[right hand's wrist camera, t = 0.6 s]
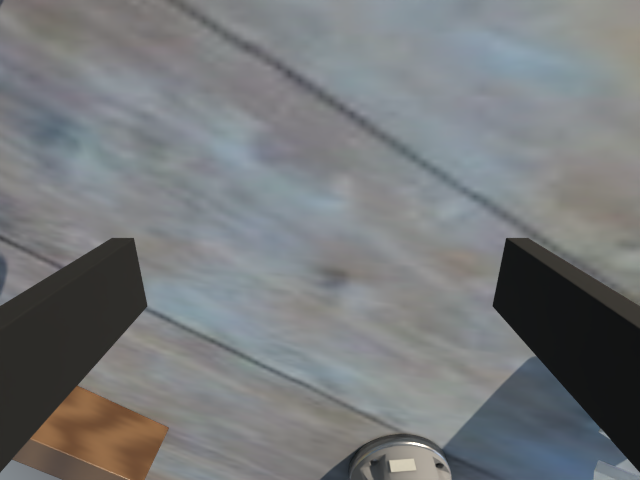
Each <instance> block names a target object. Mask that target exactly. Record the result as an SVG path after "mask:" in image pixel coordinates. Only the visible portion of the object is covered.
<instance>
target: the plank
mask: <svg viewBox="0 0 640 480" xmlns="http://www.w3.org/2000/svg"><path fill="white" fill-rule="evenodd" d="M168 429H169V428H168V427H166V426H164V425H162V424H159V423H157V422H155V421H153V420H151V419H148V418H146V417H144V416H142V415H140V414H138V413H135V412H133V411H131V410H129V409H127V408H125V407H122V406H120V405H118V404H116V403H114V402H111V401H109V400H107V399H105V398H103V397H101V396H98V395H96V394H94V393H92V392H90V391H88V390H85V389H83V388H81V387H79V386H76V387H75V388H74V390H73V391H72V392H71V393H70V394H69V395H68V396H67V398H66V399H65V400H64V401H63V402H62V403H61V404H60V405H59V407H58V408H57V409H56V410H55V411H54V412H53V413H52V414H51V416H50V417H49V418H48V419H47V420H46V421H45V422H44V423H43V425H42V426H41V427H40V428H39V429H38V430H37V431H36V433H35V434H34V435H33V436H32V437H31V438H30V439H29V440H28V442H27V443H26V444H25V445H24V446H23V447H22V448H21V449H20V451H19V452H18V453H17V454H16V455H15V456H14V457H13V458H12V460H15V461H17V462H20V463H22V464H25V465H27V466H30V467H32V468H35V469H37V470H40V471H42V472H45V473H47V474H50V475H53V476H55V477H57V478H60V479H62V480H145V477H146V475H147V473H148V471H149V469H150V467H151V465H152V463H153V461H154V458H155V456H156V454H157V452H158V450H159V448H160V446H161V444H162V442H163V439H164V437H165V435H166V433H167V431H168Z"/></svg>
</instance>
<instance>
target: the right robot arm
mask: <svg viewBox="0 0 640 480" xmlns="http://www.w3.org/2000/svg"><path fill="white" fill-rule="evenodd" d="M146 307H147V302H146V297H145V292H144V287H143V282H142V277H141V272H140V267H139V262H138V257H137V252H136V247H135V242H134V238H111V239H110V240H108V241H106V242H105V243H103V244H101V245H100V246H98V247H97V248H95V249H93V250H92V251H90V252H88V253H87V254H85V255H83V256H82V257H80V258H79V259H77V260H75V261H74V262H72V263H70V264H69V265H67V266H65V267H64V268H62V269H60V270H59V271H57V272H56V273H54V274H52V275H51V276H49V277H47V278H46V279H44V280H42V281H41V282H39V283H38V284H36V285H34V286H33V287H31V288H29V289H28V290H26V291H24V292H23V293H21V294H19V295H18V296H16V297H15V298H13V299H11V300H10V301H8V302H6V303H5V304H3V305H1V306H0V472H1V471H2V470H3V469H4V468H5V466H6V465H7V464H8V463H9V462H10V461H11V460H12V458H13V457H14V456H15V455H16V454H17V453H18V452H19V451H20V449H21V448H22V447H23V446H24V445H25V444H26V443H27V442H28V440H29V439H30V438H31V437H32V436H33V435H34V434H35V433H36V431H37V430H38V429H39V428H40V427H41V426H42V425H43V423H44V422H45V421H46V420H47V419H48V418H49V417H50V416H51V414H52V413H53V412H54V411H55V410H56V409H57V408H58V407H59V405H60V404H61V403H62V402H63V401H64V400H65V399H66V398H67V396H68V395H69V394H70V393H71V392H72V391H73V390H74V388H75V387H76V386H77V385H78V384H79V383H80V382H81V381H82V379H83V378H84V377H85V376H86V375H87V374H88V373H89V372H90V370H91V369H92V368H93V367H94V366H95V365H96V364H97V363H98V361H99V360H100V359H101V358H102V357H103V356H104V355H105V353H106V352H107V351H108V350H109V349H110V348H111V347H112V346H113V344H114V343H115V342H116V341H117V340H118V339H119V338H120V337H121V335H122V334H123V333H124V332H125V331H126V330H127V329H128V328H129V326H130V325H131V324H132V323H133V322H134V321H135V320H136V318H137V317H138V316H139V315H140V314H141V313H142V312H143V311H144V309H145V308H146ZM493 307H494V308H495V309H496V311H497V312H498V313H499V314H500V315H501V316H502V317H503V318H504V320H505V321H506V322H507V323H508V324H509V325H510V326H511V328H512V329H513V330H514V331H515V332H516V333H517V334H518V335H519V337H520V338H521V339H522V340H523V341H524V342H525V343H526V344H527V346H528V347H529V348H530V349H531V350H532V351H533V352H534V353H535V355H536V356H537V357H538V358H539V359H540V360H541V361H542V363H543V364H544V365H545V366H546V367H547V368H548V369H549V370H550V372H551V373H552V374H553V375H554V376H555V377H556V378H557V379H558V381H559V382H560V383H561V384H562V385H563V386H564V387H565V388H566V390H567V391H568V392H569V393H570V394H571V395H572V396H573V398H574V399H575V400H576V401H577V402H578V403H579V404H580V405H581V407H582V408H583V409H584V410H585V411H586V412H587V413H588V414H589V416H590V417H591V418H592V419H593V420H594V421H595V422H596V423H597V425H598V426H599V427H600V428H601V429H602V430H603V431H604V433H605V434H606V435H607V436H608V437H609V438H610V439H611V440H612V442H613V443H614V444H615V445H616V446H617V447H618V448H619V449H620V451H621V452H622V453H623V454H624V455H625V456H626V457H627V458H628V460H629V461H630V462H631V463H632V464H633V465H634V466H635V468H636V469H637V470H638V471H639V472H640V306H639V305H637V304H635V303H634V302H632V301H630V300H629V299H627V298H625V297H624V296H622V295H621V294H619V293H617V292H616V291H614V290H612V289H611V288H609V287H607V286H606V285H604V284H602V283H601V282H599V281H598V280H596V279H594V278H593V277H591V276H589V275H588V274H586V273H584V272H583V271H581V270H580V269H578V268H576V267H575V266H573V265H571V264H570V263H568V262H566V261H565V260H563V259H561V258H560V257H558V256H557V255H555V254H553V253H552V252H550V251H548V250H547V249H545V248H543V247H542V246H540V245H539V244H537V243H535V242H534V241H532V240H530V239H529V238H506V242H505V247H504V252H503V257H502V262H501V267H500V272H499V277H498V282H497V287H496V292H495V297H494V302H493ZM349 480H452V474H451V470H450V467H449V464H448V462H447V459H446V456H445V454H444V453H443V451H442V450H441V449H440V448H439V447H438V446H437V445H436V444H435V443H433V442H431V441H430V440H428V439H425V438H423V437H419V436H415V435H408V434H396V435H389V436H384V437H381V438H378V439H375V440H373V441H371V442H369V443H367V444H366V445H364V446H363V447H362V448H361V449H359V450H358V451H357V453H356V454H355V455H354V456H353V458H352V460H351V462H350V465H349Z"/></svg>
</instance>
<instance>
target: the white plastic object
mask: <svg viewBox="0 0 640 480" xmlns="http://www.w3.org/2000/svg"><path fill="white" fill-rule="evenodd" d="M599 433H601V434H602V435H604V436H606V437H607V438H609V437H608V436H607V435H606V434H605V433H604V431H603V430H602V429H601V428H600V430H599ZM609 439H610V438H609ZM610 440H611V439H610ZM593 480H640V476H638V475H635V474H633V473H630V472H628V471H625V470H623V469H620V468H618V467H615V466H613V465H610V464H608V463H605V462H603V461H600V460H598V462H597V465H596V467H595V470H594V478H593Z"/></svg>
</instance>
